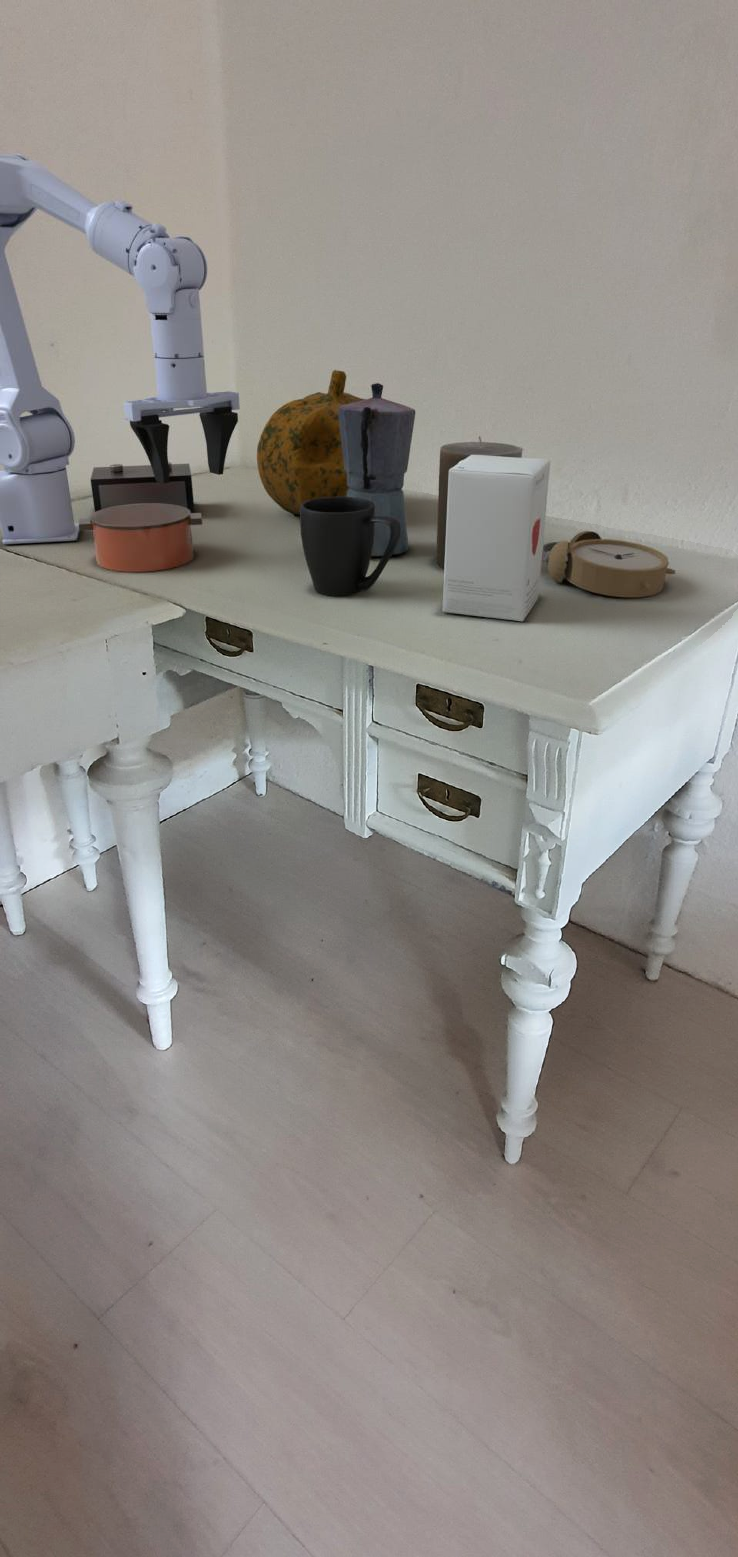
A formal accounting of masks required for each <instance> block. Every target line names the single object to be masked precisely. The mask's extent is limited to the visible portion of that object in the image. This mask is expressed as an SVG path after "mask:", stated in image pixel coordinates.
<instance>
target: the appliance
mask: <svg viewBox="0 0 738 1557" xmlns="http://www.w3.org/2000/svg"><path fill="white" fill-rule="evenodd" d="M168 465H169V483H161V482H157V481H156V479H155V476H154V473H153V470H152V467H151V464H146V465H145V464H144V465H123V464H122V463H121V464H120V463H113V464H109V466H98V467H97V466H95V467H94V466H93V469H92V472H91V475H90V487H91V495H92V501H93V509H94V512H97V511H99V510H102V509H105V508H109V507H114V506H120V505H128V504H141V503H160V504H172V505H178V506H182V507H185V508H187V509H189V510H190V512H191V513H196V512H195V501H194V488H193V479H192V478H193V476H192V472H191V471H192V470H191V466H190V463H172V462H170V461H168Z"/></svg>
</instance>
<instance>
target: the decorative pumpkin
mask: <svg viewBox="0 0 738 1557" xmlns="http://www.w3.org/2000/svg"><path fill="white" fill-rule="evenodd" d="M346 382H347V375H346V372H345V371H344V370H339V369H334V370H333V371H332V372H331V375H330V381H329V385H328V389H327V393H325V392H321V391H318V392H315V393H311V394H308V395H306V396H305V397H303V398H299V399H294V400H291V401H289V402H286V403H285V404H283V405H282V406H280V407H279V408H277V410H275V412H274V413H273V414H271V416H270V417H269V420H268V421H267V422H266V424H265V426H264V428H263V430H262V431H261V434H260V436H259V440H258V443H257V449H256V450H257V451H256V462H257V470H258V475H259V478H260V482H261V484H262V486H263V488H264V490H265V492H266V493H267V495H268V496H269V498H271V499H272V501H273V502H274V503H276V505H277V506H279V507H280V508H281V509H282V510H284V511H285V512H287V513H290V514H292V515H299V516H300V505H301V503H303V502H305V501H308V500H311V499H315V498H322V497H346V496H347V491H348V489H349V487H348V486H347V473H346V470H345V469H344V461H343V452H342V443H341V434H340V424H339V415H338V407H339V406H342V405H345V404H349V403H353V402H357V401H362V400H366V399H367V398H362V397H358V396H356V395H353V394H351V393H349V392H345V389H346Z"/></svg>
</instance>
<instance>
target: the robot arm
mask: <svg viewBox="0 0 738 1557" xmlns="http://www.w3.org/2000/svg"><path fill="white" fill-rule="evenodd" d="M133 208H134V207H133V205H132V204H131V203H129V202H127V201H126V200H116V201H113V200H109V201H105V202H103V203H101V204H98V203H97V202H94V200H92V199H91V198H88V197H87V196H86V195H84V194H83V193H81V192H80V191H79V190H77V189H75V188H74V187H73V186H71V185H70V184H68V183H67V182H65V181H63V180H62V179H61V178H59V177H58V176H57V175H55V174H53V173H52V172H51V171H49V170H48V169H47V168H45V167H44V165H43V164H42V163H39V162H37V161H34V160H30V158H28V157H27V156H25V155H23V154H19V153H13V154H7V153H6V154H5V153H0V465H1V466H2V467H4V470H0V531H1V536H2V544H3V545H14V544H15V545H16V544H34V543H35V544H36V543H38V544H39V543H53V542H73V541H77V540H78V537H79V534H80V530H79V522H78V523H75V519H74V513H73V505H72V499H71V492H70V485H69V478H68V472H67V471H68V470H67V466H68V465H70V459H69V457H70V456H71V455H72V454H73V452H74V449H75V444H76V437H75V432H74V429H73V427H72V424H71V423H70V421H69V420H68V418H67V417H66V415H65V414H64V412H63V409H62V405H61V401H60V400H59V398H57V397H56V395H54V394H52V393H51V392H50V391H49V390H48V389H46V388H45V387H44V386H43V384H42V381H41V377H40V373H39V370H38V367H37V363H36V360H35V356H34V352H33V349H32V345H31V342H30V338H29V335H28V332H27V331H28V330H27V327H26V324H25V321H24V317H23V313H22V309H21V306H20V302H19V298H18V294H17V292H16V288H15V284H14V281H13V277H12V273H11V270H10V265H9V263H8V262H9V261H8V259H7V255H6V252H5V249H6V246H7V245H8V243H9V241H10V239H11V238H12V237H13V236H14V235H15V234H16V233H17V232H18V230H20V229H21V227H22V226H23V225H24V224H26V222H27V221H28V220H29V219H31V217H32V216H33V215H34V214H35V213H36V212H37V210H39V211H41V212H43V213H45V214H47V215H49V216H51V217H53V218H54V219H57V220H58V221H60V222H62V223H64V224H65V225H68V226H69V227H71V228H73V229H75V230H77V231H79V232H81V233H82V234H84V235H86V237H87V242H88V244H89V245H88V246H89V247H90V249H91V250H92V252H94V253H95V254H96V255H98V256H100V257H101V258H102V259H104V260H106V261H108V262H109V263H111V264H113V265H115V266H116V267H117V268H119V269H121V270H122V271H124V272H126V273H127V274H129V275H131V276H133V277H134V278H135V281H136V283H137V285H138V287H139V288H140V289H141V291H142V293H143V295H144V299H145V307H146V308H148V312H149V322H150V330H151V339H152V340H151V341H152V352H153V362H154V372H155V381H156V390H157V391H156V392H157V396H153V397H147V398H141V399H136V400H129V401H123V404H122V405H123V411H124V420H125V421H129V426H130V428H131V430H132V432H133V433H134V434H135V436H136V437H137V439H138V441H139V443H140V445H141V446H142V448H143V450H144V452H145V454H146V456H147V459H148V461H149V465H151V467H152V470H153V473H154V476H155V479H156V481H157V482H161V483H169V465H168V462H169V456H168V447H169V446H168V445H169V444H168V443H169V442H168V441H169V431H170V425H169V424H167V423H164V422H163V421H162V419H160V418H169V417H175V416H176V417H177V416H185V415H194V414H198V415H199V420H200V423H201V426H202V429H203V433H204V438H205V445H206V456H207V465H208V470H209V473H211V474H214V475H218V476H219V475H223V474H224V470H225V464H226V457H227V452H228V448H229V444H230V441H231V438H232V435H233V433H234V430H235V428H236V427H237V424H238V422H239V414H238V412H236V411H237V410H240V409H241V408H240V394H239V392H237V391H215V392H208V390H207V378H206V377H207V376H206V363H205V351H204V350H205V349H204V339H203V338H204V336H203V325H202V313H201V301H200V300H201V299H200V290H201V289H203V286H204V285H205V283H206V280H207V277H208V262H207V260H206V256H205V253H204V252H203V250H202V248H201V247H200V246H199V244H198V243H196V242H194V241H193V239H192V238H191V237H190V236H183V235H181V236H180V235H179V236H175V237H171V236H170V235H169V234H168V233H167V228H166V226H165V225H162V224H161V223H156V222H154V223H151V222H149V221H148V220H145V219H144V218H142V217H140V216H139V215H137V214H136V213H134V212H133ZM175 409H176V410H175ZM26 412H27V413H30V414H29V415H25V416H24V415H23V416H22V414H24V413H26Z"/></svg>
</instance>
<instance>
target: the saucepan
mask: <svg viewBox="0 0 738 1557" xmlns="http://www.w3.org/2000/svg"><path fill="white" fill-rule="evenodd" d="M78 524H79V532H85V531H92V538H93V539H92V540H93V546H94V553H95V558H96V559H95V560H96V564H97V565H98V566H99V567H101V568H102V569H103V568H104V569H106V570H110V571H116V572H122V573H123V572H125V573H146V572H155V571H164V570H169V569H173V568H178V567H180V566H183V565H185V564H187V563H189V562H191V561H192V560H193V559H194V556H195V555H194V545H193V535H192V526H199V525H200V526H201V525H202V526H203V516H202V513H201V512H195V513H191V512H190V510H189V509H187V508H185V507H182V506H178V505H172V504H160V503H141V504H128V505H120V506H114V507H109V508H105V509H102V510H99V511H97V512H95V511H94V512H93V513H91V514H90V516H89V518H87V517H86V518H80V519H79V522H78Z"/></svg>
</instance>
